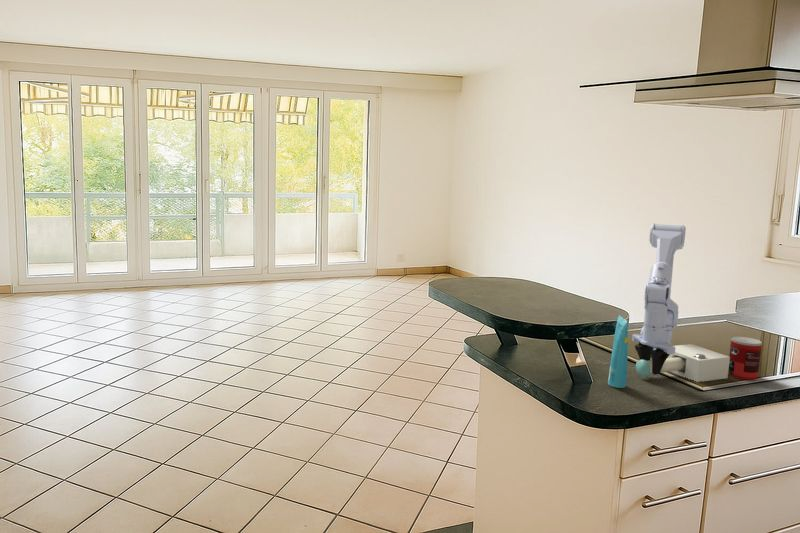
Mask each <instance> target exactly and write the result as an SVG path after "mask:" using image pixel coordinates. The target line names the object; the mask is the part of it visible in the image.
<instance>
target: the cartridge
mask: <svg viewBox="0 0 800 533" xmlns="http://www.w3.org/2000/svg"><path fill="white" fill-rule="evenodd" d="M685 367H686V359H685V358H683V357H676V358H667V359H666V360H665V362H664V364H663V366H662V369H661V371H660V373H661V374H662V373H668V372H670V371H678V370H685ZM635 369H636V373H637V374H638V375H639V376H640V377H644V378H645V377H648V376H649V375H654V374H653V373H652V359H650V361H646V360H640V359H639V360H637V361H636V363H635ZM670 373H671V372H670Z"/></svg>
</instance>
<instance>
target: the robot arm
mask: <svg viewBox="0 0 800 533" xmlns="http://www.w3.org/2000/svg"><path fill="white" fill-rule="evenodd" d="M686 229H687V228H686V226H685V225H683V224H682V225H674V224H661V223H658V224H657V223H652V224H651V226H650V229H649V243H650V245H651V247H652V248H655V249H656V259H655V260H656V262H655V263H654V264H652V265H651V267H650V270H649V271H650V272H649V277H648V284H646V286H645V288H644V296H643V297H644V310H645V311H644V316H643V317H644V320H643V326H642V328H641V330H640V334H639V333H633V334H632V337H631V341H632V342H637V343H638V344H635V345H634V348H635V351H636V352H637V355H638V359H639V360H646V361H650V360H652V373H653V374H652V375H660V371H661V369H662V366H663V364H664V362H665V360H666V359H667V358H668V356H669V355H670V354H675V347H674V346H675V345H672V335H673V334H672V333H673V329H676V328H677V327H678V321H679V305H678V304H677V302H675V301H674V300H673V299H672V298H671V293H672V279H673V269H674V261H675V260H674V258H675V254H676V252H677V251H679V250H683V247H684V246H685V239H686ZM684 248H685V247H684Z"/></svg>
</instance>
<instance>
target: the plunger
mask: <svg viewBox="0 0 800 533" xmlns="http://www.w3.org/2000/svg"><path fill="white" fill-rule="evenodd" d="M696 358H698V359H705V355H703V354H696Z"/></svg>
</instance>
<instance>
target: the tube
mask: <svg viewBox="0 0 800 533" xmlns="http://www.w3.org/2000/svg"><path fill="white" fill-rule="evenodd" d="M615 326H616V327H615V329H614V330H615V331H614V338H613V344H612V349H611V350H612V351H611V357H610V364H609V372H608V379H607V384H608V386H609V387H613V388H616V389H617V388H618V389H624V388H626V387H627V383H628V382H627V378H628V359H629V358H628V352H629V348H628V347H629V337H628V336H629V334H628V333H629V331H628V320H626V318H624V317H622V316H621V315H619V314H618V316H617V321H616V325H615Z"/></svg>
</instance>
